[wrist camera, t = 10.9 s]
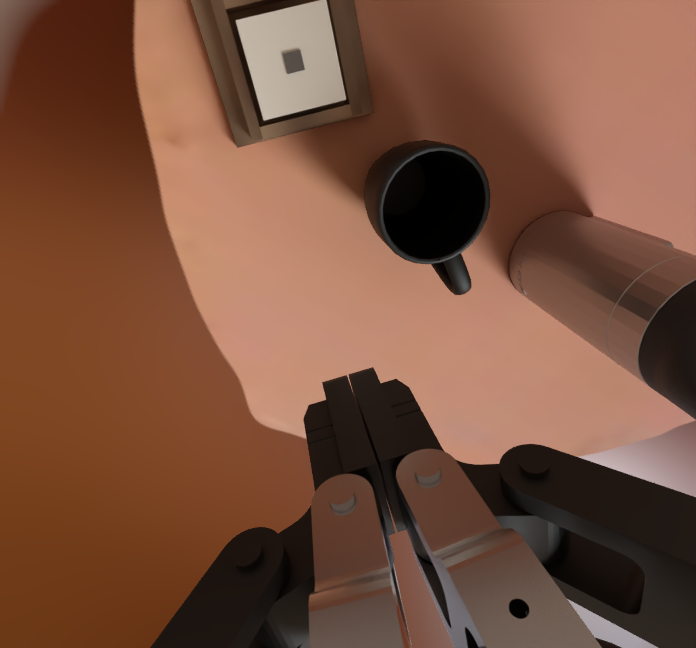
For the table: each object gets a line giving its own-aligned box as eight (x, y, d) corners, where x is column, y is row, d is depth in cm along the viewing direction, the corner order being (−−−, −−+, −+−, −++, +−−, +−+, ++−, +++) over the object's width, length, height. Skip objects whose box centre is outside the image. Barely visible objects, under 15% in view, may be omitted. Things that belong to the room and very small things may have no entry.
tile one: (320, 5, 32) (326, -2, 29) (340, 99, 35) (346, 99, 32) (236, 25, 31) (235, 19, 29) (263, 119, 34) (263, 120, 32)
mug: (386, 281, 44) (419, 324, 35) (334, 161, 38) (358, 178, 30) (464, 242, 43) (515, 277, 35) (423, 116, 38) (473, 121, 29)
